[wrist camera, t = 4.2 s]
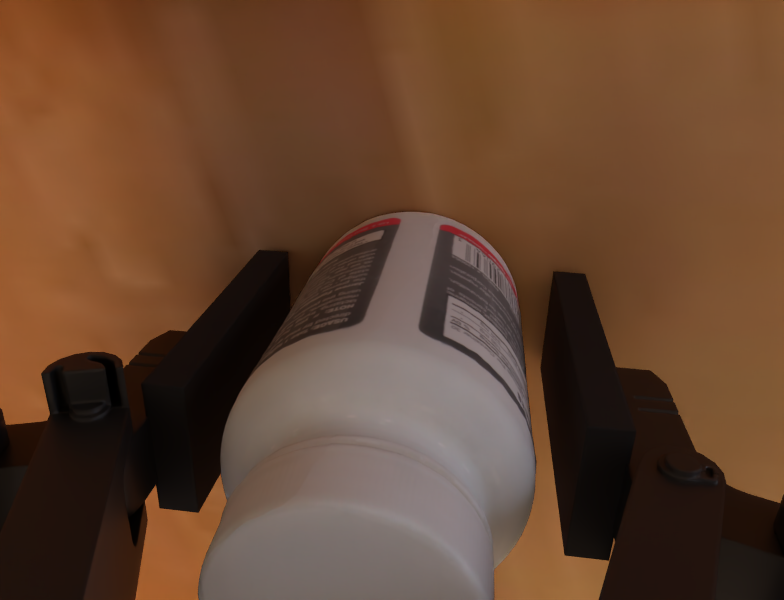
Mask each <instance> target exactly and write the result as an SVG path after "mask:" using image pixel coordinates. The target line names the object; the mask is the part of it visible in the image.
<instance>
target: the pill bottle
mask: <svg viewBox="0 0 784 600" xmlns="http://www.w3.org/2000/svg"><path fill="white" fill-rule="evenodd" d="M220 463H221V477H222V482H223V488H224V491H225V495H226V498H227V503H226V506H225V508H224V511H223V514H222V518H221V522H220V525H219V527H218V529H217V531H216V533H215V535H214V538H213V540H212V542H211V544H210V547H209V549H208V551H207V553H206V556H205V559H204V562H203V565H202V569H201V573H200V578H199V586H198V597H199V600H494V569H495V568H496V567H497V566H498V565H499V564H500V563H501V562H502V561H503V560H504V559H505V558H506V556H507V555H508V554H509V553H510V551H511V550H512V549H513V548H514V546H515V545H516V543H517V541H518V540H519V538H520V536H521V535H522V533H523V531H524V528H525V526H526V524H527V521H528V519H529V515H530V512H531V509H532V504H533V499H534V492H535V474H536V457H535V450H534V442H533V437H532V428H531V417H530V408H529V397H528V390H527V381H526V366H525V354H524V345H523V336H522V326H521V313H520V307H519V301H518V296H517V291H516V287H515V283H514V280H513V278H512V276H511V273H510V271H509V269H508V267H507V265H506V264H505V262H504V261H503V259H502V258H501V256H500V255H499V253H498V252H497V251H496V250H495V249H494V248H493V247H492V246H491V245H490V244H489V243H488V242H487V241H486V240H485V239H484V238H483V237H482V236H480V235H479V234H478V233H476V232H475V231H473V230H472V229H470V228H468V227H467V226H465V225H463V224H461V223H459V222H457V221H455V220H453V219H450V218H447V217H444V216H440V215H437V214H433V213H423V212H399V213H391V214H385V215H381V216H377V217H374V218H371V219H369V220H366V221H365V222H363V223H361V224H359V225H358V226H356V227H354V228H352V229H351V230H349V231H348V232H346V233H345V234H344V235H343V236H342V237H341V238H340V239H339V240H337V241H336V243H335V244H334V245H333V246H332V247H331V248H330V249H329V250H328V251H327V253H326V254H325V256H324V257H323V258H322V260H321V261H320V262H319V264H318V266H317V267H316V269H315V270H314V272H313V273H312V275H311V276H310V277H309V279H308V281H307V283H306V285H305V286H304V288H303V290H302V291H301V293H300V294H299V296H298V298H297V300H296V301H295V303H294V305H293V307H292V309H291V310H290V312H289V314H288V316H287V317H286V319H285V321H284V322H283V324H282V326H281V327H280V329H279V330H278V332H277V333H276V335H275V337H274V338H273V340H272V342H271V343H270V345H269V346H268V348H267V350H266V351H265V353H264V354H263V355H262V357H261V359H260V361H259V362H258V364H257V365H256V367H255V368H254V370H253V371H252V373H251V374H250V376H249V378H248V379H247V381H246V383H245V384H244V386H243V388H242V390H241V391H240V393H239V395H238V397H237V399H236V401H235V403H234V405H233V407H232V409H231V412H230V414H229V416H228V419H227V422H226V425H225V429H224V433H223V437H222V444H221V455H220Z"/></svg>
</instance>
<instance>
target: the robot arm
mask: <svg viewBox="0 0 784 600" xmlns="http://www.w3.org/2000/svg"><path fill="white" fill-rule="evenodd" d="M289 312H290V296H289V271H288V252H278V251H264V250H259V251H258V252H257V253H256V254H255V255H254V256H253V258H252V259H251V260H250V261H249V262H248V263H247V264H246V265H245V267H244V268H243V269H242V270H241V271H240V272H239V273H238V275H237V276H236V277H235V278H234V279H233V280H232V281H231V282H230V284H229V285H228V286H227V287H226V288H225V289H224V290H223V291H222V293H221V294H220V295H219V296H218V297H217V298H216V299H215V300H214V302H213V303H212V304H211V305H210V306H209V307H208V308H207V310H206V311H205V312H204V313H203V314H202V315H201V316H200V317H199V319H198V320H197V321H196V322H195V323H194V324H193V325H192V326H191V328H190V329H189V330H188V331H187V332H184V331H173V330H169V331H168V332H166V333H164V334H162V335H160V336H158V337H156V338H154V339H152V340H150V341H149V342H148V344H147V345H146V346H145V347H144V348H143V349H142V350H141V351H140V352H139V355H136V356H135V357H134V358H133V359H132V360H131V361H130V362H129V365H126V366H125V367H124V368H123V364H122V360H121V359H120V358H118V357H117V356H116V355H113V354H109V353H105V352H86V353H80V354H74V355H71V356H68V357H65V358H62V359H59V360H57V361H56V362H54V363H52V364H51V365H49V366H47V368H46V369H45V370H44V371H43V372H42V373H41V375H42V380H43V384H44V389H45V393H46V398H47V402H48V407H49V411H50V416H49V418H48V420H47V421H43V422H34V423H24V424H14V425H6V424H5V420H4V416H3V412H2V409H1V408H0V600H135V597H136V591H137V584H138V578H139V571H140V565H141V559H142V552H143V546H144V540H145V533H146V527H147V521H148V520H147V513H146V506H145V500H146V498H147V497H148V495H149V494H150V492H151V491H152V489H153V488H154V486H155V485H156V487H157V493H158V500H159V507H160V508H163V509H172V510H180V511H189V512H198V513H199V511H200V509H201V507H202V506H203V504H204V502H205V500H206V498H207V497H208V495H209V493H210V491H211V489H212V488H213V486H214V484H215V482H216V480H217V479H218V477H219V475H220V473H221V463H220V455H221V444H222V437H223V433H224V429H225V425H226V422H227V419H228V416H229V414H230V412H231V409H232V407H233V405H234V403H235V401H236V399H237V397H238V395H239V393H240V391H241V390H242V388H243V386H244V384H245V383H246V381H247V379H248V378H249V376H250V374H251V373H252V371H253V370H254V368H255V367H256V365H257V364H258V362H259V361H260V359H261V357H262V355H263V354H264V353H265V351H266V350H267V348H268V346H269V345H270V343H271V342H272V340H273V338H274V337H275V335H276V333H277V332H278V330H279V329H280V327H281V326H282V324H283V322H284V321H285V319H286V317H287V316H288V314H289ZM540 368H541V376H542V383H543V391H544V399H545V407H546V414H547V422H548V430H549V438H550V446H551V453H552V461H553V469H554V477H555V484H556V492H557V500H558V508H559V515H560V523H561V531H562V539H563V547H564V554H565V555H566V556H575V557H583V558H592V559H600V560H609V558H610V553H611V548H612V544H613V539H615V545H614V548H613V552H612V555H611V559H610V562H609V566H608V569H607V573H606V576H605V580H604V583H603V587H602V590H601V594H600V597H599V600H784V495H783V497H782V500H781V503H777V502H774V501H771V500H767V499H764V498H761V497H757V496H754V495H751V494H748V493H745V492H742V491H740V490H737V489H735V488H733V487H731V486H729V485H727V484H726V480H725V476H724V473H723V472H722V470H721V469H720V468H719V467H718V466H717V465H716V463H714V462H713V461H711V460H710V459H708V458H707V457H705V456H704V455H702V454H700V453H698V452H696V450H695V448H694V446H693V443H692V441H691V439H690V437H689V434H688V432H687V430H686V428H685V425H684V423H683V421H682V418H681V416H680V415H678V409H677V407H676V405H675V403H674V402H673V398H672V396H671V394H670V391H669V389H668V387H667V385H666V384H665V383H664V382H663V381H662V380H661V379H660V378H659V377H657V376H656V375H655V374H654V373H653V372H652V371H650V370H641V369H629V368H618V367H615V364H614V361H613V358H612V355H611V352H610V349H609V346H608V342H607V339H606V336H605V333H604V330H603V327H602V324H601V321H600V318H599V315H598V312H597V309H596V306H595V303H594V300H593V297H592V294H591V291H590V288H589V284H588V281H587V278H586V275H585V274H581V273H567V272H553V279H552V286H551V294H550V301H549V308H548V316H547V323H546V330H545V338H544V345H543V353H542V360H541V367H540Z"/></svg>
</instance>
